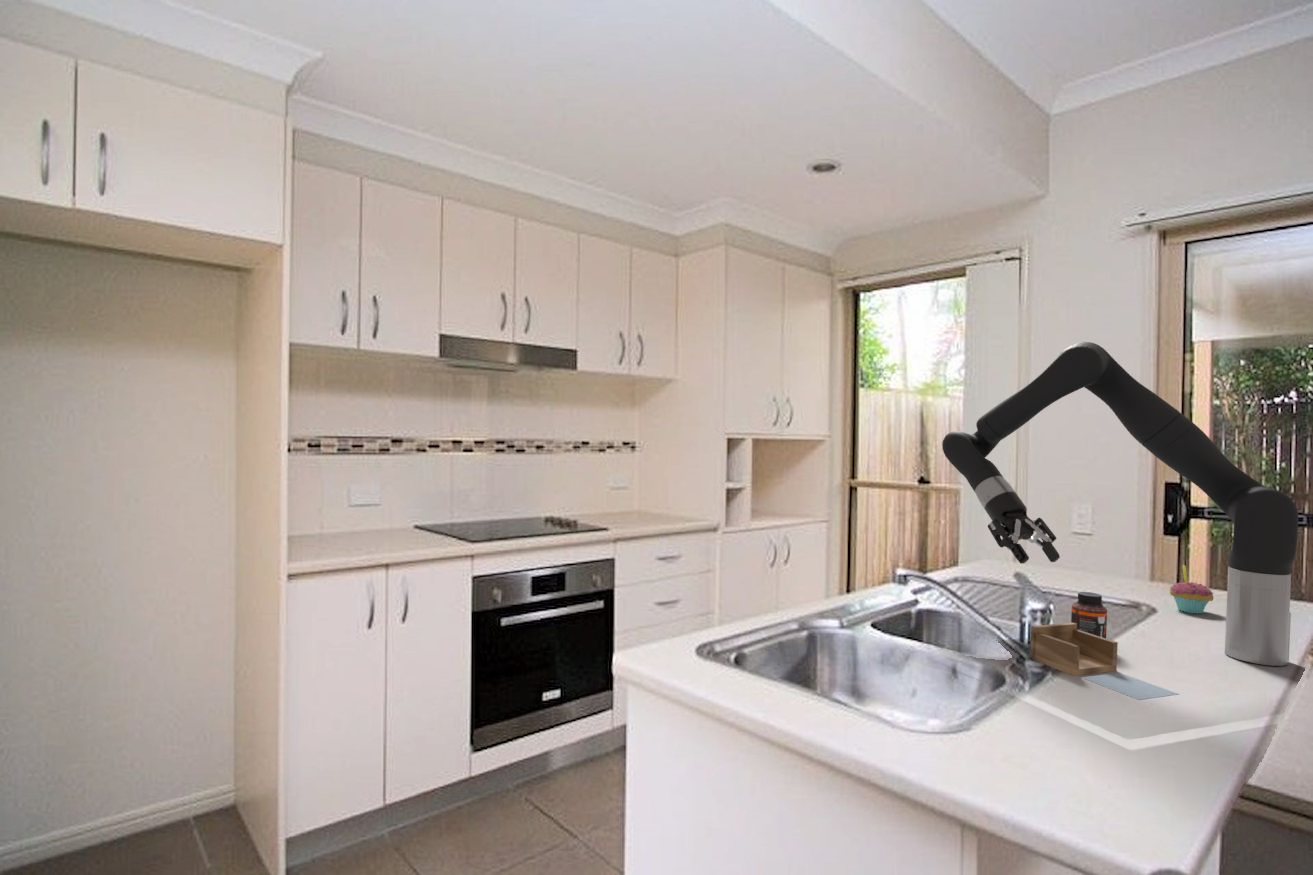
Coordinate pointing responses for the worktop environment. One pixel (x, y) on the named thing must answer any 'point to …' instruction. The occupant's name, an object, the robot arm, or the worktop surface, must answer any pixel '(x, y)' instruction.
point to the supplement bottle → (1090, 614)
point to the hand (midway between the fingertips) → (1040, 560)
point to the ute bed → (1072, 649)
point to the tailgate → (1129, 686)
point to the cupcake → (1190, 595)
